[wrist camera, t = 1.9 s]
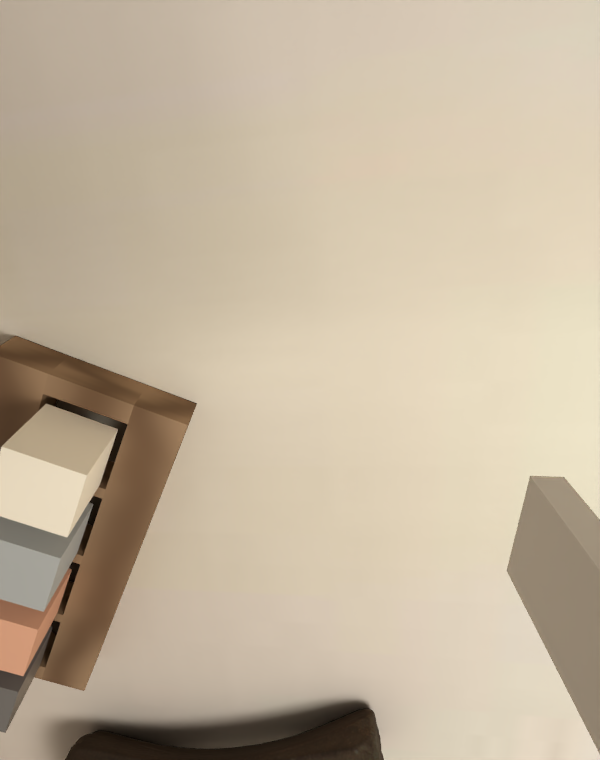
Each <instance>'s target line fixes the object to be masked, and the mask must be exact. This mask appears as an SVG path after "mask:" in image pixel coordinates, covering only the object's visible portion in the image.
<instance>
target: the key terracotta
mask: <svg viewBox="0 0 600 760" xmlns="http://www.w3.org/2000/svg"><path fill="white" fill-rule="evenodd" d="M71 570H72V569H69V568H68V570H67V572H66V574H65V575H64V577H63V579H62V581H61V582H60V584H59V586H58V588H57V589H56V591H55V593H54V595H53V596H52V598H51V600H50V602H49V604H48V605H47V607H46V609H45V611H44V612H42V611H39V610H35V609H32V608H29V607H25V606H22V605H18V604H15V603H12V602H8V601H5V600H1V599H0V670H2V671H6V672H9V673H13V674H17V675H20V676H24V674H25V672H26V670H27V669H28V667H29V665H30V663H31V661H32V659H33V657H34V656H35V654H36V652H37V650H38V648H39V646H40V644H41V642H42V641H43V639H44V637H45V635H46V633H47V631H48V629H49V627H50V626H51V624H52V622H53V620H54V618H55V616H56V614H57V613H58V609H59V606H60V603H61V600H62V597H63V594H64V591H65V588H66V585H67V582H68V579H69V576H70V573H71Z"/></svg>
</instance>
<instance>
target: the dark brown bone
mask: <svg viewBox="0 0 600 760" xmlns="http://www.w3.org/2000/svg"><path fill="white" fill-rule="evenodd" d="M65 760H384V758H383V755H382V752H381V742H380V735H379V730H378V727H377V724H376V718H375V714H374V712H373V711H372V710H370V709H361V710H358V711H355V712H353V713H350V714H348V715H346V716H343V717H341V718H339V719H336V720H334V721H332V722H330V723H327V724H325V725H323V726H320V727H318V728H315V729H312V730H310V731H307V732H304V733H301V734H298V735H295V736H291V737H288V738H284V739H280V740H277V741H272V742H267V743H263V744H258V745H251V746H243V747H235V748H220V749H196V748H180V747H173V746H166V745H159V744H154V743H149V742H145V741H140V740H136V739H132V738H129V737H125V736H122V735H118V734H114V733H111V732H107V731H96V732H94V733H92V734H87V735H85V736H83V737H81V738H80V739H79V740H78V741H77V742H76V744H75V745H74V746H73V747H71V749H70V751H69V754H68V756H67V758H66V759H65Z"/></svg>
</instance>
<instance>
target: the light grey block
mask: <svg viewBox="0 0 600 760" xmlns="http://www.w3.org/2000/svg"><path fill="white" fill-rule="evenodd" d="M92 507H93V504H92V503H88V505H87V506H86V508H85V510H84V511H83V513H82V515H81V516H80V518H79V519H78V521H77V523H76V524H75V526H74V528H73V529H72V531H71V532H70V534H69V536H68V537H64V536H60V535H57V534H54V533H51V532H48V531H45V530H42V529H39V528H35V527H32V526H29V525H26V524H23V523H20V522H17V521H13V520H10V519H7V518H4V517H1V516H0V599H1V600H5V601H8V602H12V603H15V604H18V605H22V606H25V607H29V608H32V609H35V610H39V611H42V612H44V611H45V609H46V607H47V605H48V604H49V602H50V600H51V598H52V596H53V595H54V593H55V591H56V589H57V588H58V586H59V584H60V582H61V581H62V579H63V577H64V575H65V574H66V572H67V570H68V568H69V566H70V565H71V563H72V561H73V559H74V558H75V556H76V554H77V552H78V549H79V546H80V543H81V540H82V537H83V534H84V531H85V528H86V525H87V522H88V519H89V516H90V513H91V510H92Z"/></svg>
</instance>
